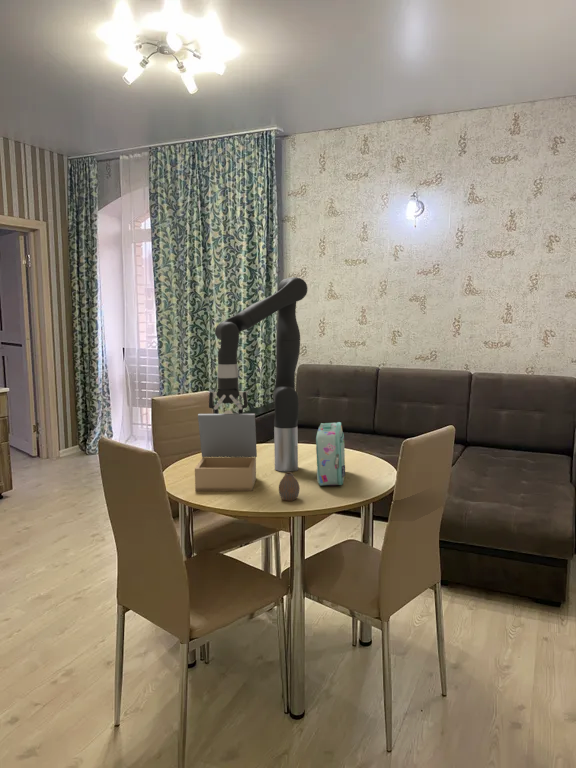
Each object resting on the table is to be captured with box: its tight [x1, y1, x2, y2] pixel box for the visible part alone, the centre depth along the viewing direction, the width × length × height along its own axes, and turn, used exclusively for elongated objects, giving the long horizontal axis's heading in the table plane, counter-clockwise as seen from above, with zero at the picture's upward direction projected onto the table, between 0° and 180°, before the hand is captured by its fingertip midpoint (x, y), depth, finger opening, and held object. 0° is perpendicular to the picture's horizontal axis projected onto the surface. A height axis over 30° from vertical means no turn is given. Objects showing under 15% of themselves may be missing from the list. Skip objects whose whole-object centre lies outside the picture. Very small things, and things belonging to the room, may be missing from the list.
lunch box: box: [315, 421, 346, 486], centre depth 208 cm, size 27×10×21 cm, turn 175°
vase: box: [278, 472, 300, 502], centre depth 186 cm, size 7×7×9 cm
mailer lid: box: [197, 409, 258, 458], centre depth 210 cm, size 21×18×7 cm
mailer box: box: [194, 457, 257, 492], centre depth 204 cm, size 20×16×8 cm
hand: (228, 419), depth 211 cm, fingers open, 8 cm apart
